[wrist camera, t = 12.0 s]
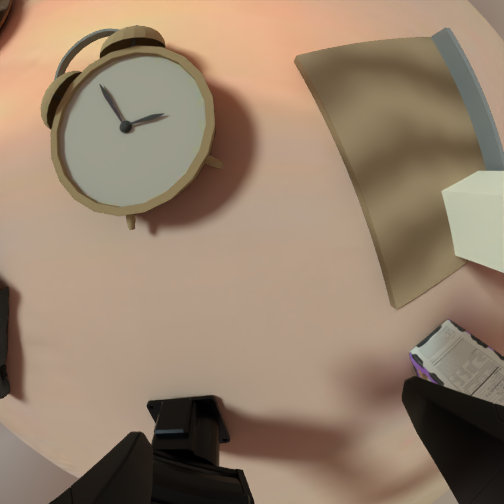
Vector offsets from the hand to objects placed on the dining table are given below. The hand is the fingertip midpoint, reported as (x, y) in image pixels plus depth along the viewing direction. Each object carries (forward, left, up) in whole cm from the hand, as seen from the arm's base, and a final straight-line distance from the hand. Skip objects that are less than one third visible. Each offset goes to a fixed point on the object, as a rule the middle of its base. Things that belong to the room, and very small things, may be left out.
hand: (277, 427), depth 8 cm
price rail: (+10, -24, -13) cm, 29 cm away
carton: (+3, -20, -12) cm, 24 cm away
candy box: (-15, -19, -13) cm, 28 cm away
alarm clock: (+14, +6, -14) cm, 21 cm away
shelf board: (+8, -16, -13) cm, 22 cm away
